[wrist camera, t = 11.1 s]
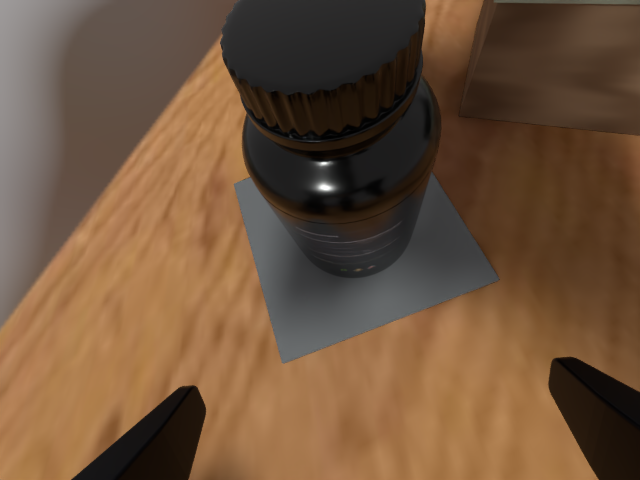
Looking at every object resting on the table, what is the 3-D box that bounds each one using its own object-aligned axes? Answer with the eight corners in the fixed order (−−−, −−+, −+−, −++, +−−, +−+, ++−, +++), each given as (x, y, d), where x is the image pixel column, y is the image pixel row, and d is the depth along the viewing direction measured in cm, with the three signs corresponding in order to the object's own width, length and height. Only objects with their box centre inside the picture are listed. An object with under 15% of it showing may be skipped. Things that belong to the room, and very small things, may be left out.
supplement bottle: (294, 186, 19) (191, -39, 9) (400, 168, 19) (438, -106, 8) (300, 289, 17) (161, 156, 6) (424, 274, 16) (534, 86, 5)
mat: (284, 363, 16) (282, 363, 16) (236, 187, 21) (233, 183, 20) (497, 281, 16) (499, 279, 15) (397, 122, 21) (398, 118, 20)
